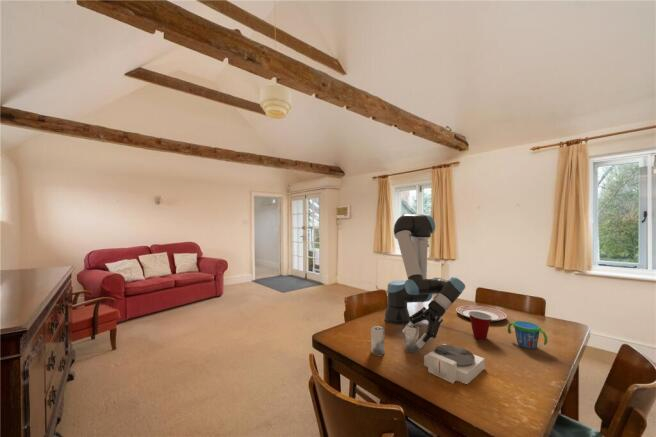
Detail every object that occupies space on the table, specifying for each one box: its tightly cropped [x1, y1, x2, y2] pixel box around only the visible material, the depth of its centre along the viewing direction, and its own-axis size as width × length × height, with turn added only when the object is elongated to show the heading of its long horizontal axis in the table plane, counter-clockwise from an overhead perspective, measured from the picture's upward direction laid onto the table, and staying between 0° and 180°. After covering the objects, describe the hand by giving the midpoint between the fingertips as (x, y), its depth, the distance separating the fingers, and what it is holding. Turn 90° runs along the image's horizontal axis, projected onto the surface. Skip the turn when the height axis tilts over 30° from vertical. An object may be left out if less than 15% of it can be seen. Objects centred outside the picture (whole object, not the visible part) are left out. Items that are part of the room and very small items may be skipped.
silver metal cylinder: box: [405, 324, 420, 354], centre depth 122 cm, size 6×6×11 cm
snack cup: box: [507, 320, 548, 350], centre depth 126 cm, size 16×10×10 cm
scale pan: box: [433, 344, 475, 366], centre depth 108 cm, size 15×15×1 cm
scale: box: [423, 343, 486, 385], centre depth 107 cm, size 17×21×7 cm
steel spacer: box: [370, 325, 385, 356], centre depth 120 cm, size 6×6×11 cm
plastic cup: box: [469, 311, 492, 341], centre depth 135 cm, size 11×11×12 cm
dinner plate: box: [455, 305, 507, 323], centre depth 165 cm, size 27×27×3 cm
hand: (410, 339), depth 122 cm, fingers open, 13 cm apart
